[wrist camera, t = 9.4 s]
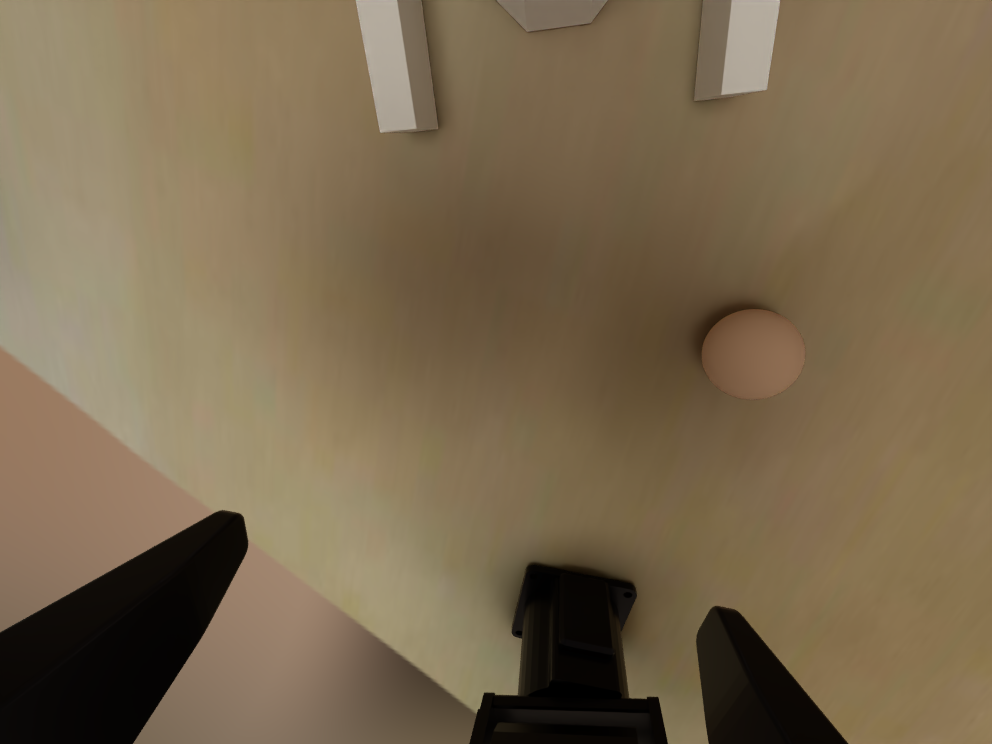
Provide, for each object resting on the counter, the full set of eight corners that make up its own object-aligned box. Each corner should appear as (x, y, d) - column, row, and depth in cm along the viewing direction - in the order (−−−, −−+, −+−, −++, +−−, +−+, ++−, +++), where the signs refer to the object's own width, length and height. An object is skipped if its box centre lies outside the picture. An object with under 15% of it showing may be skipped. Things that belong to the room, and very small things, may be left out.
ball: (760, 379, 20) (797, 424, 17) (680, 365, 20) (702, 408, 17) (796, 304, 18) (843, 339, 15) (708, 290, 18) (738, 321, 15)
